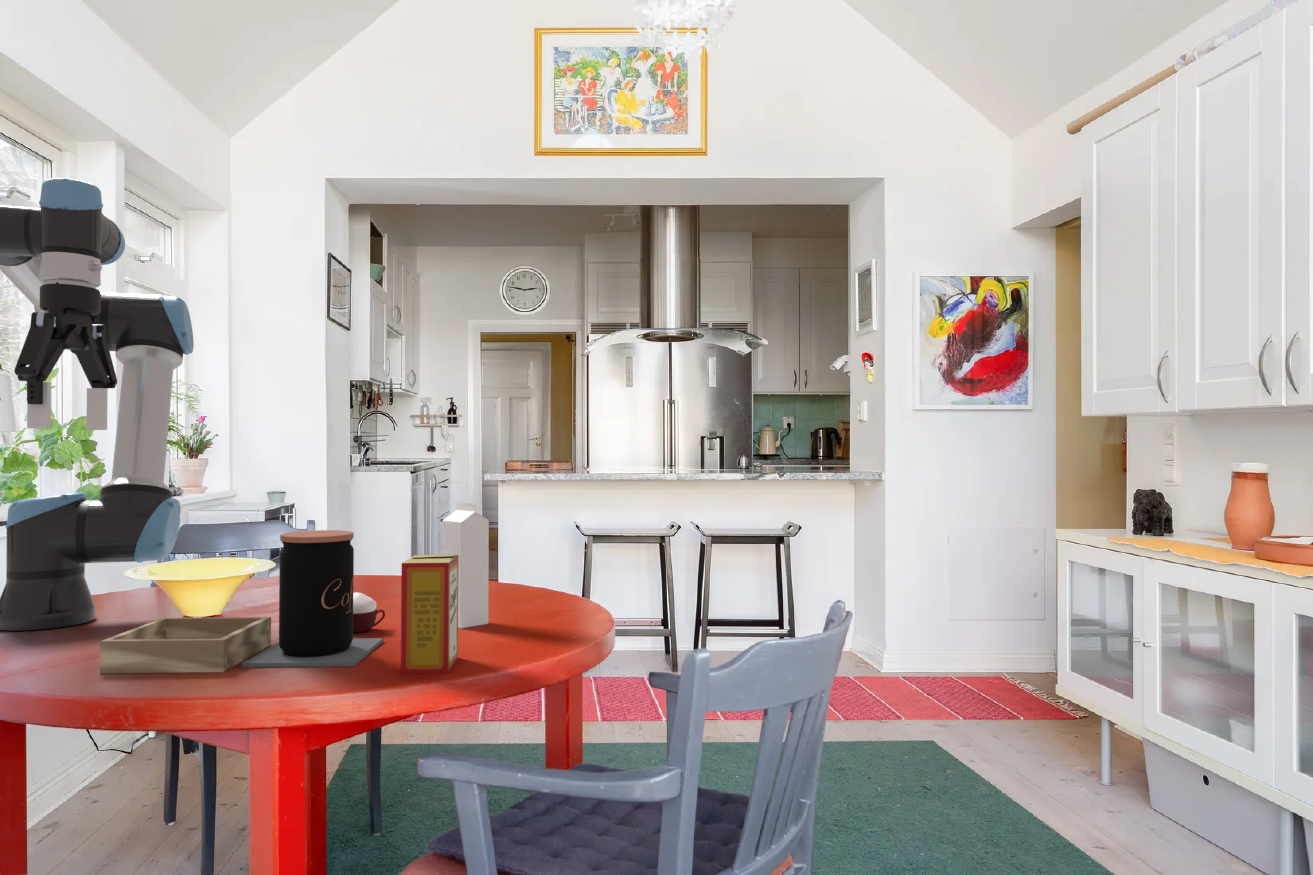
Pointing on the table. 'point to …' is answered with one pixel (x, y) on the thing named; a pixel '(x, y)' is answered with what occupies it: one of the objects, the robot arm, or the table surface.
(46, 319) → the robot arm
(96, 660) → the table surface
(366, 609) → the cocoa
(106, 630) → the table surface
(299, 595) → the coffee jar
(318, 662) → the slate mat
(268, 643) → the wooden tray
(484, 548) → the milk
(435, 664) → the baking soda box
